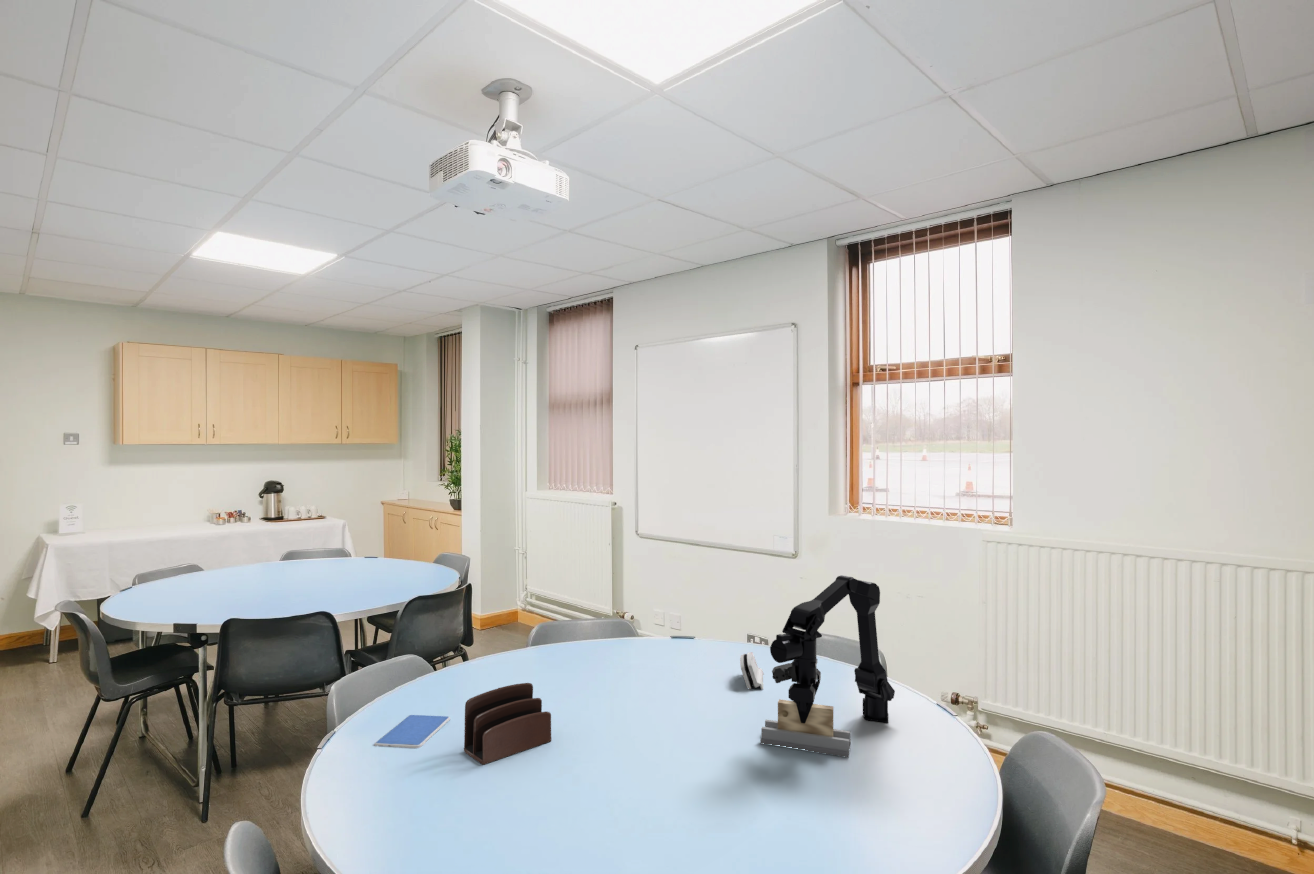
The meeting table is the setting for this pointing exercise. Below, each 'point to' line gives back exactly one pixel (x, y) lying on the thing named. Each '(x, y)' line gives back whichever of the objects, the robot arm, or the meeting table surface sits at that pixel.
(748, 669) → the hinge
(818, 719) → the door panel
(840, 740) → the door track
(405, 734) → the tablet computer
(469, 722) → the letter holder
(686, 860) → the meeting table surface
